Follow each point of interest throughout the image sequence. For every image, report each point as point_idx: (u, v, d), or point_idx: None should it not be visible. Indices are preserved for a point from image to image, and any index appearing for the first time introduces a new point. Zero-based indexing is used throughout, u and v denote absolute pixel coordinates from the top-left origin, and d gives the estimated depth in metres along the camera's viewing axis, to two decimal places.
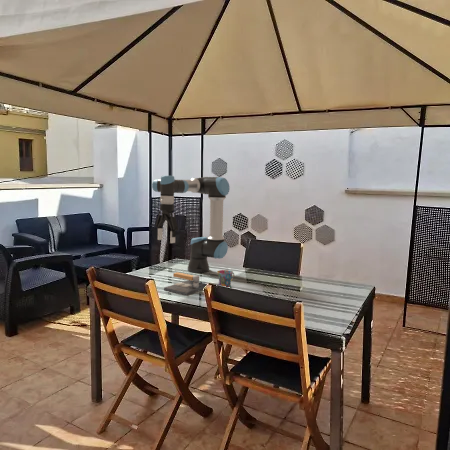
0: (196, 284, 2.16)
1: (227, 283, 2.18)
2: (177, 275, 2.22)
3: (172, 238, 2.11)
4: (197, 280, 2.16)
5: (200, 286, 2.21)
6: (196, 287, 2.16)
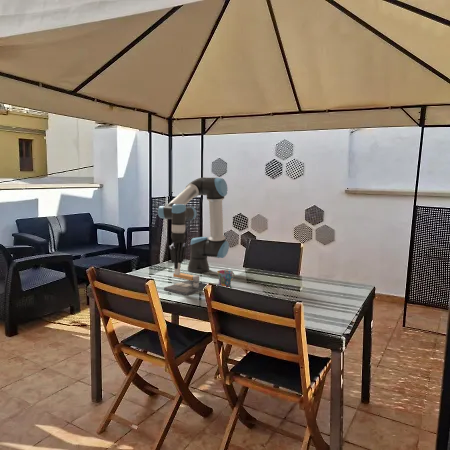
0: (196, 284, 2.16)
1: (227, 283, 2.18)
2: (177, 275, 2.22)
3: (175, 269, 2.13)
4: (197, 280, 2.16)
5: (200, 286, 2.21)
6: (196, 287, 2.16)
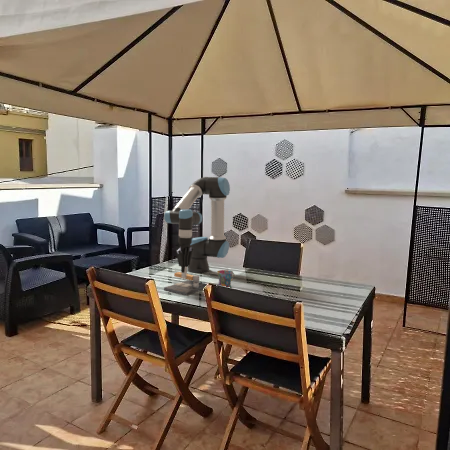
0: (196, 284, 2.16)
1: (227, 283, 2.18)
2: (178, 275, 2.23)
3: (182, 273, 2.19)
4: (197, 280, 2.16)
5: (200, 286, 2.21)
6: (196, 287, 2.16)
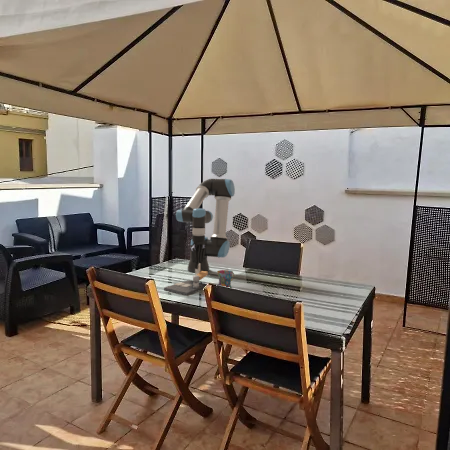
0: (196, 284, 2.16)
1: (227, 283, 2.18)
2: None
3: (196, 269, 2.29)
4: (193, 280, 2.16)
5: (200, 286, 2.21)
6: (196, 287, 2.16)
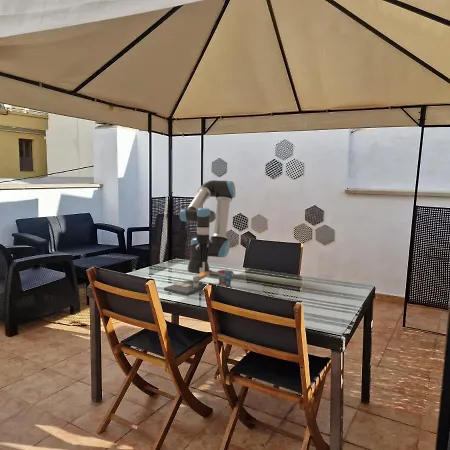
0: (196, 284, 2.16)
1: (227, 283, 2.17)
2: None
3: (200, 268, 2.33)
4: (193, 280, 2.16)
5: (200, 286, 2.21)
6: (196, 287, 2.16)
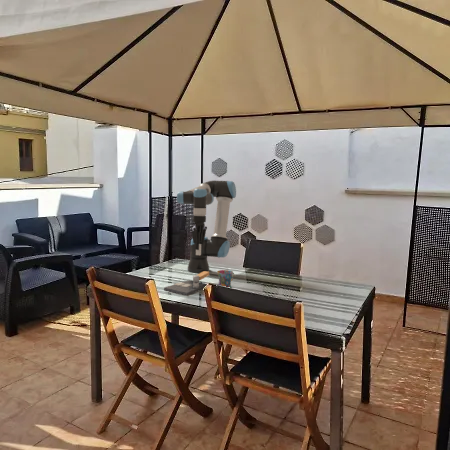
0: (196, 284, 2.16)
1: (227, 283, 2.18)
2: None
3: (197, 250, 2.28)
4: (193, 280, 2.16)
5: (200, 286, 2.21)
6: (196, 287, 2.16)
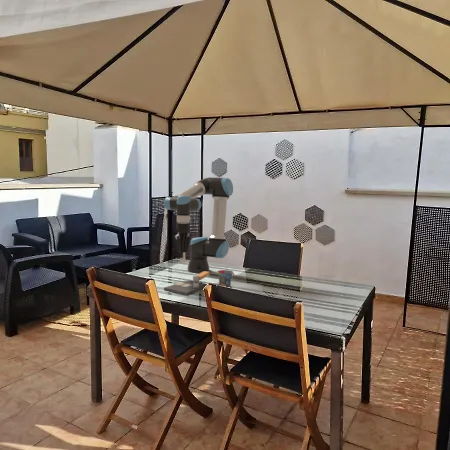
0: (196, 284, 2.16)
1: (227, 283, 2.18)
2: None
3: (181, 259, 2.22)
4: (193, 280, 2.16)
5: (200, 286, 2.21)
6: (196, 287, 2.16)
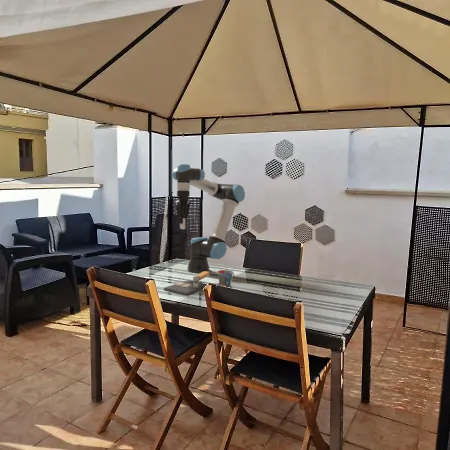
0: (196, 284, 2.16)
1: (227, 283, 2.17)
2: None
3: (181, 224, 2.34)
4: (193, 280, 2.16)
5: (200, 286, 2.21)
6: (196, 287, 2.16)
